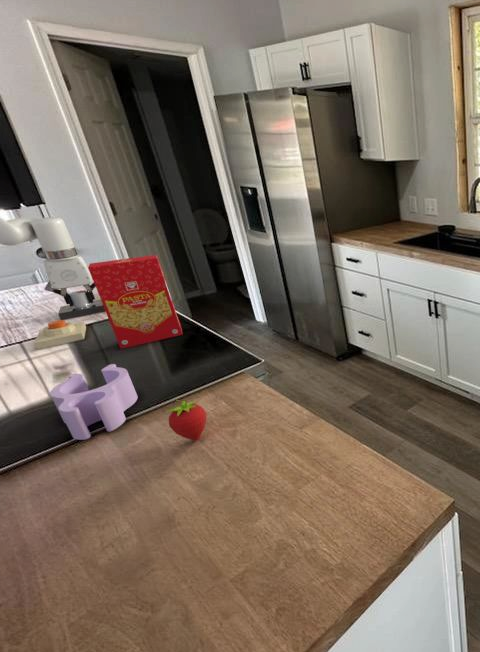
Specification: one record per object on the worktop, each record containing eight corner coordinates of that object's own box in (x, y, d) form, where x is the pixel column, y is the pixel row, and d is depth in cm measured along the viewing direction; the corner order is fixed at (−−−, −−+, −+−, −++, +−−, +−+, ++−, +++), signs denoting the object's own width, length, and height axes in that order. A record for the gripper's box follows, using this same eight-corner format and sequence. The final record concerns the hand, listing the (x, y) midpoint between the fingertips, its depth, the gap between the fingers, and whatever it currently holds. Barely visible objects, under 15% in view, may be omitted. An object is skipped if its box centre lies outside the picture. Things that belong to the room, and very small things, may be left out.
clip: (138, 422, 89) (126, 395, 86) (56, 448, 81) (41, 420, 79) (137, 384, 103) (127, 360, 100) (67, 404, 95) (54, 378, 93)
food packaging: (120, 348, 121) (87, 267, 112) (121, 342, 125) (90, 263, 116) (182, 334, 130) (157, 258, 121) (181, 329, 134) (156, 254, 125)
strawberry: (180, 456, 79) (164, 413, 75) (174, 438, 84) (158, 397, 80) (217, 442, 83) (202, 400, 79) (209, 425, 88) (195, 385, 84)
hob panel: (60, 320, 142) (57, 313, 141) (63, 312, 148) (60, 306, 147) (107, 311, 149) (105, 304, 148) (108, 304, 155) (105, 298, 154)
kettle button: (66, 327, 127) (63, 322, 126) (49, 330, 125) (47, 325, 124) (67, 324, 130) (64, 319, 129) (50, 327, 127) (48, 322, 127)
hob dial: (73, 308, 145) (67, 294, 143) (74, 305, 148) (68, 291, 146) (91, 305, 147) (85, 291, 145) (91, 302, 150) (86, 288, 148)
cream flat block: (84, 339, 127) (79, 327, 126) (37, 349, 121) (31, 337, 120) (86, 327, 136) (81, 316, 134) (42, 336, 130) (37, 324, 128)
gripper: (23, 260, 133) (46, 312, 139) (94, 252, 143) (113, 300, 150) (26, 256, 138) (49, 306, 145) (95, 248, 148) (113, 295, 155)
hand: (82, 303), depth 147 cm, fingers closed on hob dial, 4 cm apart
